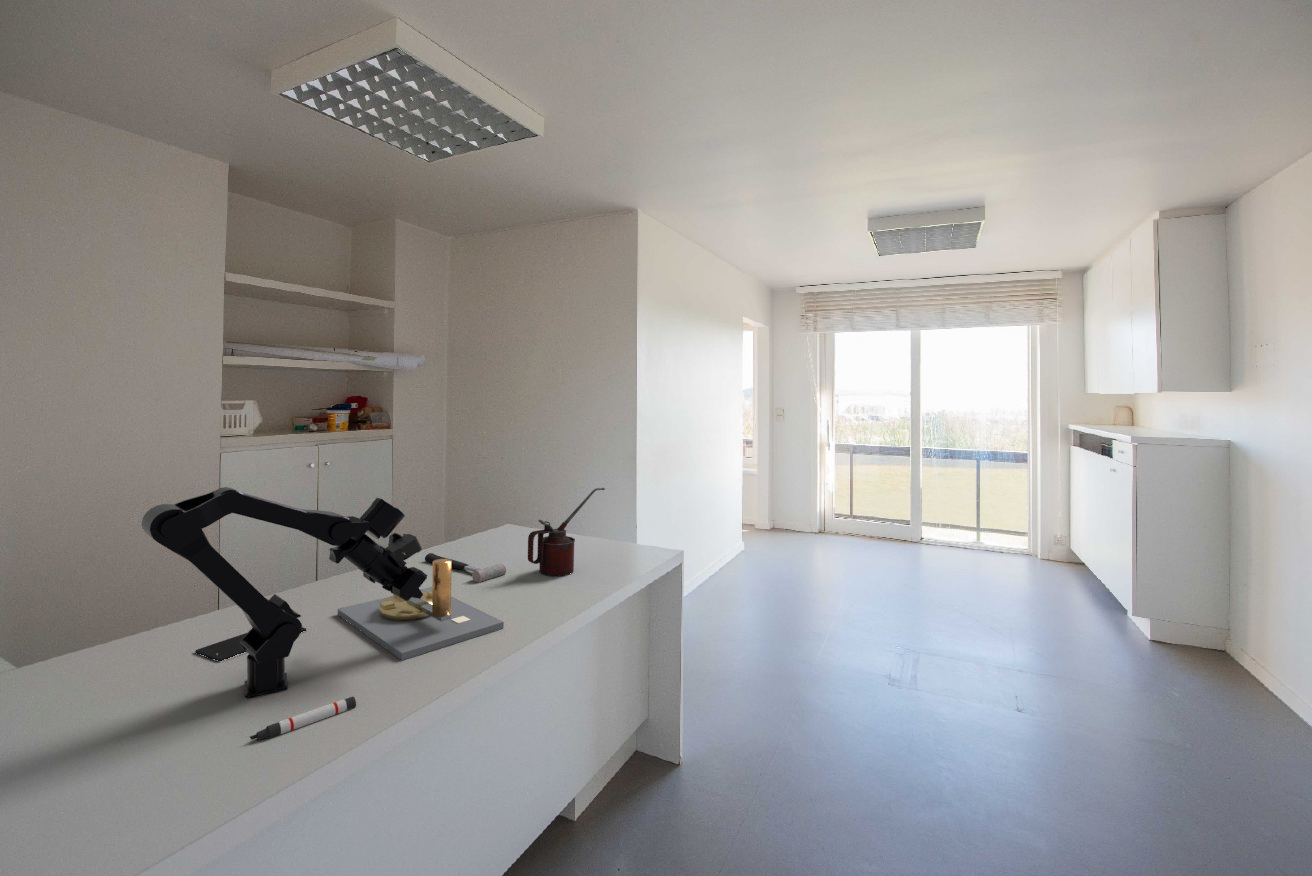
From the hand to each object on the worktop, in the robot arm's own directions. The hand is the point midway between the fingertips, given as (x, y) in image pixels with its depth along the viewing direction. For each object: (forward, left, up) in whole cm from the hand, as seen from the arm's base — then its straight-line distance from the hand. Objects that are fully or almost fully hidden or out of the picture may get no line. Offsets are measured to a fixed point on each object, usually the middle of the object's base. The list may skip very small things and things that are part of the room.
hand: (420, 596), depth 128 cm
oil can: (+32, -52, -10) cm, 62 cm away
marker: (-25, +23, -10) cm, 35 cm away
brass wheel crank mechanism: (+10, -2, -8) cm, 13 cm away
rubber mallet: (+48, -22, -10) cm, 53 cm away
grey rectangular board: (+11, -2, -10) cm, 15 cm away
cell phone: (+16, +30, -10) cm, 36 cm away
